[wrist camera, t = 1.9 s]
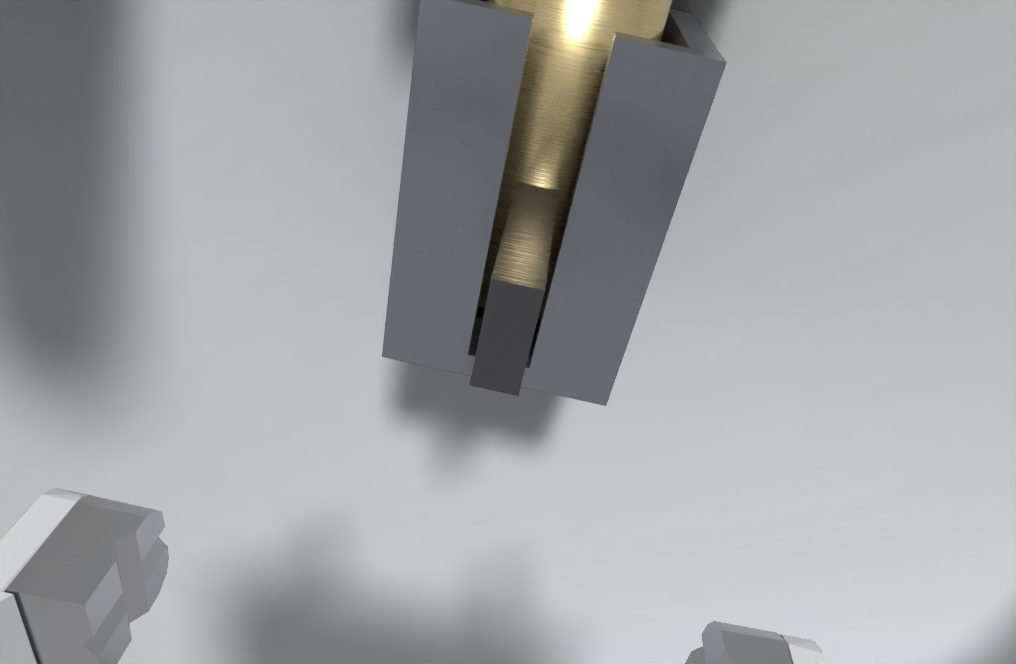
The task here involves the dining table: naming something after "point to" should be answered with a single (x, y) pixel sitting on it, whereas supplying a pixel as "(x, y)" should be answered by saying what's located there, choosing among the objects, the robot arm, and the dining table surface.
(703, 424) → the dining table surface
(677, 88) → the sleeve
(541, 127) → the tube
